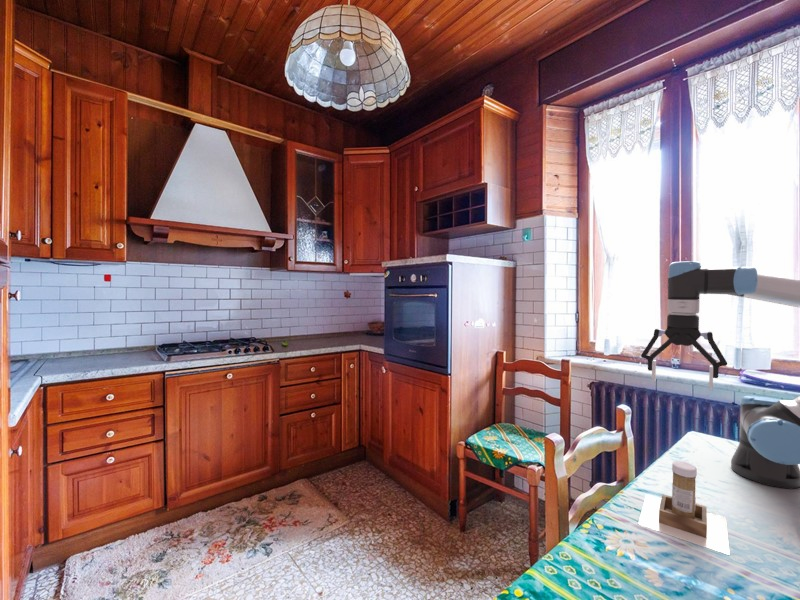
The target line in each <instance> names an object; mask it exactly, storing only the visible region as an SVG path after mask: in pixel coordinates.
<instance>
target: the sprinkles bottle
mask: <svg viewBox="0 0 800 600" xmlns="http://www.w3.org/2000/svg"><path fill="white" fill-rule="evenodd" d="M671 465H672V466H671V470H672V484H671V485H672V489H671V491H672V492H671V497H672V513H676V514H679V515H682V516H685V517H689V518H692V519H695V504H696V500H697V499H696V479H697V475H698V474H697V473H698V472H697V467H696V465H693V464H691V463H689V462H686V461H681V460H676V461H672V464H671Z"/></svg>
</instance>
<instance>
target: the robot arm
mask: <svg viewBox="0 0 800 600" xmlns="http://www.w3.org/2000/svg"><path fill="white" fill-rule="evenodd" d="M667 271H668V274H667V309H666V311H667V313H669V314H667V317H666V330H665V329H660V328H658V327H657V328H655V329H654V332H653V336H652V338H651V339H650V340H649V342H648V344H647V345H646V347H645V348H644V350H643V351H642V353H641V355H640V356H641V358H642V359H643V358H644V359H646V360H647V370H648V372H649V371H650V372H651V383H656V379H657V377H656V375H657V360H656V359H655V358H657V356H659V355H660V354H661V353H663V351H664V350H665V349H667V348H668V347H669V346H670V345H671V344H672V345H675V346H685V347H690V346H693V347H694V348H695V349H696V350H697V351H698V352H699V353H700V354H701V355H702V356H703V357H704V358H705V359H706V360H707V361H708V362H709V363H710V364H711V365H709V370H708V371H709V377H708V378H709V379H708V383H709V384H708V389H709V391H713V390H714V388H713V387H714V379H718V378H719V368H720V367H725V366H727V365H728V362H727V360H726V358H725V356H724V355H723V354H722V352H721V350H720V348H719V347H718V345H717V343H716V342H715V340H714V336H713V332H712V331H710V330H709V331H700V330H699V329H700V327H699V326H700V316H699V315H698V314H699V313H700V294H703V295H730V296H735V297H741V298H746V299H751V300H757V301H762V302H767V303H772V304H773V303H774V304H778V305H783V306H789V307H793V308H794V307H795V308H800V279H794V278H788V277H782V276H775V275H769V274H761V273H758V271H757V268H756V267H753V266H727V267H725V266H724V267H702V265H701V262H700V261H698V260H697V261H695V260H694V261H690V260H687V261H674V262H671V263H670V264H669V265H668V270H667ZM663 334H664V335H665V336H666V337H667V338H668V339H667V340H666V341H664V342H663V344H662V345H660V346H659V347H658V348H657V349H656V350H654V351H653V352H652V353H651V354H649V352H650V351H651V350H652V348H653V346H654V345H655V343H656V341H657V340H658V338H659V337H662V336H663ZM701 337H702V338H703V339H704V340H707V341H708V344H709V346H710V347H711V349H712V351H713V352H714V354H715V356H716V357H717V359H718V361H717V360H716V359H715V358H714V357H713V356H712V355H711V354H710V353H709V352H708V351H707V349H705V348H704V346H702V345H701V344H700V343H699V342H698V339H699V338H701ZM739 406H740V420H739V444H738V446H737V447H736V449H735V451H734V453H733V455H732V458H731V460H730V468H731V469H732V471H733V472H735V473H736V474H737V475H739V476H741V477H743V478H746V479H748V480H751V481H753V482H756V483H759V484H762V485H766V486H771V487H774V488H776V487H777V488H784V489H800V466H799V465H800V395H798V396H797V397H795V398H794V399H792V400H791V399H789V400H787V399H778V398H775V397H774V398H772V397H766V396H756V395H744V396H742V397H741V399H740V403H739Z"/></svg>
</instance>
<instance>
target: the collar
mask: <svg viewBox="0 0 800 600" xmlns="http://www.w3.org/2000/svg"><path fill="white" fill-rule="evenodd" d="M666 509H669V510H672V495H671V496H670V495H668V494H664V493H662V495H661V503H660V509H659V523H661V524H665V525H668V526H671V527H674V528H677V529H680V530H683V531H686V532H689V533H692V534H695V535H698V536H701V537H704V538H706V536H707V512H708V511H707V509H708V508H707V506H705V505H701V504H698V503H695V517H696V518H699V519H702V521H698V520H695V519H692V518H689V517H685V516H682V515H679V514H676V513H672V512H669V511H666Z"/></svg>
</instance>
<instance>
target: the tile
mask: <svg viewBox="0 0 800 600" xmlns="http://www.w3.org/2000/svg"><path fill="white" fill-rule="evenodd" d="M661 498H662V497H661ZM661 498H660V497H657V496H653V495H650V494H645V497H644V500H643V505H642V508H641V513H640V515H639V519H638V524H637V525H638V526H641V527H645V528H648V529H650V530H653V531H657V532H660V533H663V534H665V535H668V536H672V537H674V538H677V539H679V540H682V541H686V542H689V543H691V544H695V545H698V546H700V547H704V548H706V549H709V550H712V551H715V552H718V553H721V554H724V555H727V556H731V553H730V544H729V532H728V525H727V517H725V516H722V515H719V514H715V513H711V512H708V511H707V536H706V538H704V537H701V536H698V535H695V534H692V533H689V532H686V531H683V530H680V529H677V528H674V527H671V526H668V525H665V524H661V523H659V509H660V503H661ZM666 511H669V512H672V510H669V509H666ZM695 520H698V521H702V519H699V518H696V517H695Z"/></svg>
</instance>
